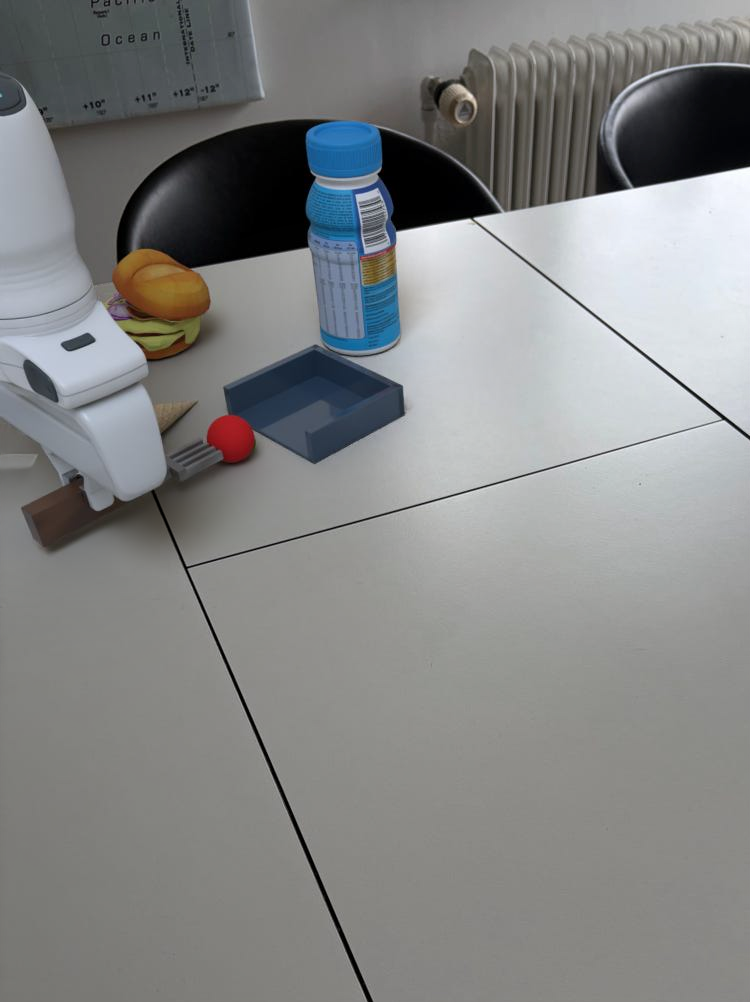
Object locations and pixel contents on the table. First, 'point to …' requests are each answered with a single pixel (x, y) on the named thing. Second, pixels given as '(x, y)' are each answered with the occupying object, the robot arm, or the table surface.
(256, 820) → the table surface
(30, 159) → the robot arm
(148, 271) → the cheeseburger
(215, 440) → the tomato
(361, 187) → the beverage bottle
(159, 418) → the ice cream cone
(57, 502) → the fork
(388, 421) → the tray
